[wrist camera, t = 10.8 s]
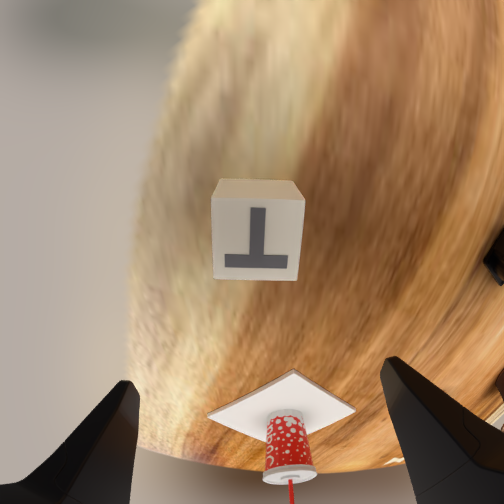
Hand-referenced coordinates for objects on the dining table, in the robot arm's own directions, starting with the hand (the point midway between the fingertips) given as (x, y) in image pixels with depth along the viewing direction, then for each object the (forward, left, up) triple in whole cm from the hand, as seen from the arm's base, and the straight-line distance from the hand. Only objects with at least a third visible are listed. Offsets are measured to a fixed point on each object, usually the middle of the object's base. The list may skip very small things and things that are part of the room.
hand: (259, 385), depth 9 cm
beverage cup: (-16, +19, -13) cm, 29 cm away
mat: (-16, +20, -14) cm, 29 cm away
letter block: (+1, -1, -14) cm, 14 cm away
